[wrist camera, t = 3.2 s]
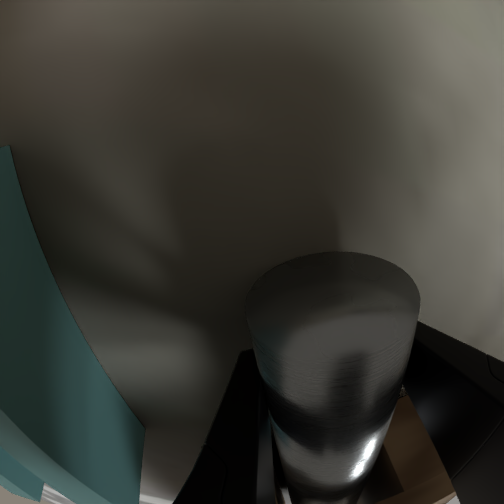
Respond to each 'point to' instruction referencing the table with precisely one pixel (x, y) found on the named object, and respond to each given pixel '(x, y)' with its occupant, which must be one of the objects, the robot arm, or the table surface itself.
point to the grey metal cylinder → (331, 365)
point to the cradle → (54, 381)
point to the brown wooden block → (403, 465)
